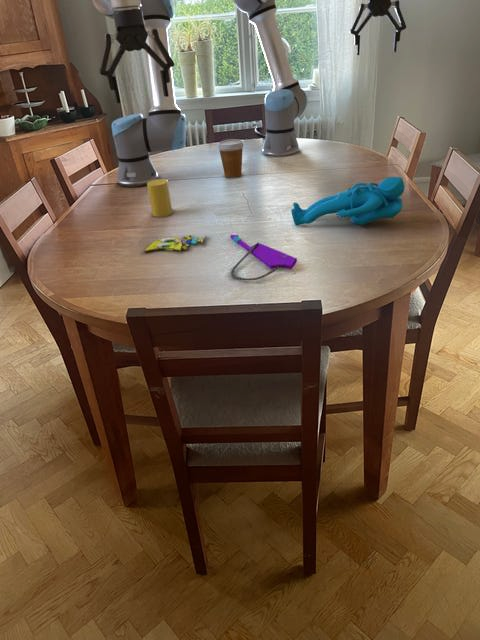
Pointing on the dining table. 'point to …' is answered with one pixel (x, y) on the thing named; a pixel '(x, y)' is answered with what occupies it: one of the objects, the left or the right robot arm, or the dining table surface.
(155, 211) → the can
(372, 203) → the toy
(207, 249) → the dining table surface
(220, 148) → the disposable coffee cup
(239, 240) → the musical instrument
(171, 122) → the left robot arm
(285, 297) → the dining table surface
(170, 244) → the toy
